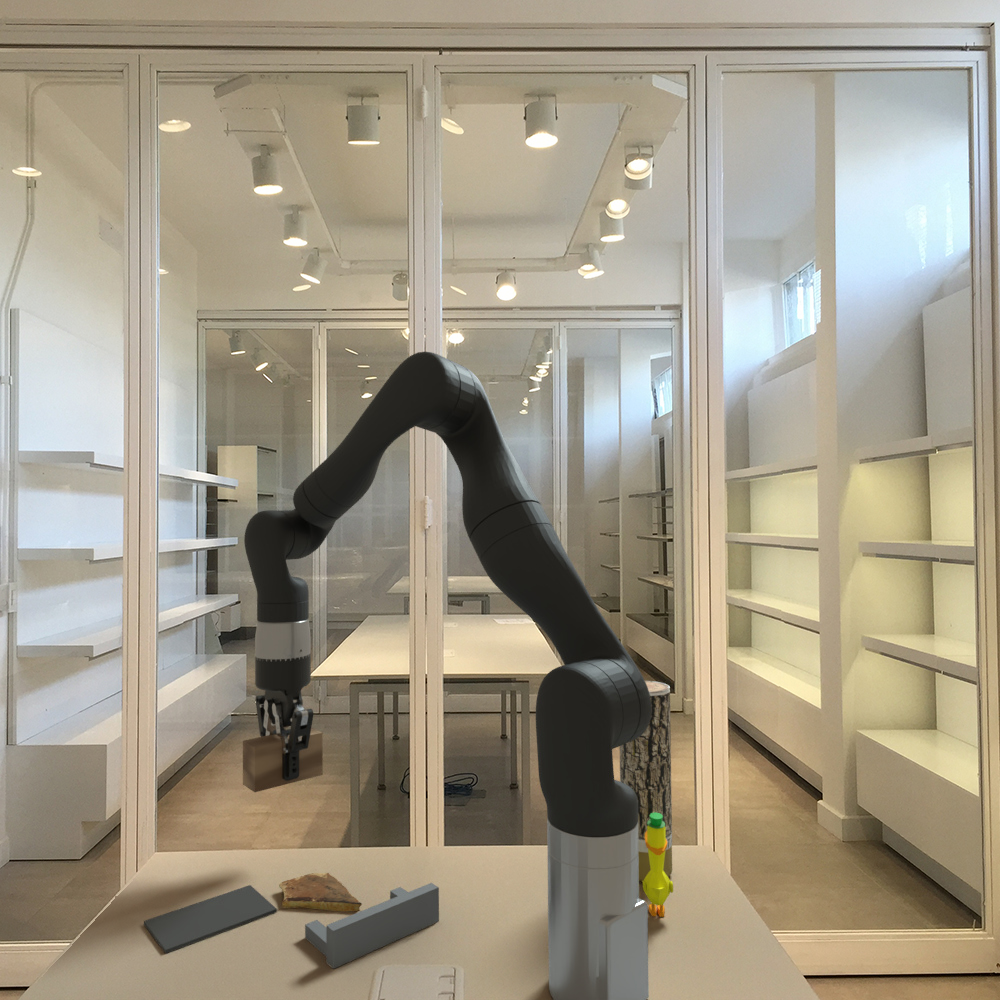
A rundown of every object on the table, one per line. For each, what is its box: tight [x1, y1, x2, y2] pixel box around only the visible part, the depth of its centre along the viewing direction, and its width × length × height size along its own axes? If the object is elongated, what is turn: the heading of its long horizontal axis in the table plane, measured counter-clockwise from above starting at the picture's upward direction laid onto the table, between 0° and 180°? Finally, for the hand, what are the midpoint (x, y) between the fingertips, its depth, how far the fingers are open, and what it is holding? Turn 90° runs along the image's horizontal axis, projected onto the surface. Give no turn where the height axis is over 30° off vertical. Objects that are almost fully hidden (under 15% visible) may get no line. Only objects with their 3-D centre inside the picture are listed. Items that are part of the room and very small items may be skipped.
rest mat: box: [143, 884, 278, 954], centre depth 90 cm, size 8×13×1 cm, turn 131°
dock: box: [304, 882, 440, 969], centre depth 88 cm, size 8×14×4 cm, turn 131°
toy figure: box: [642, 812, 674, 918], centre depth 91 cm, size 7×4×12 cm, turn 175°
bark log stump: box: [619, 680, 673, 883], centre depth 101 cm, size 7×7×25 cm
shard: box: [278, 872, 363, 912], centre depth 94 cm, size 11×8×2 cm
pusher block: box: [242, 727, 324, 793], centre depth 105 cm, size 4×10×6 cm, turn 131°
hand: (283, 774), depth 105 cm, fingers closed on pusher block, 4 cm apart
